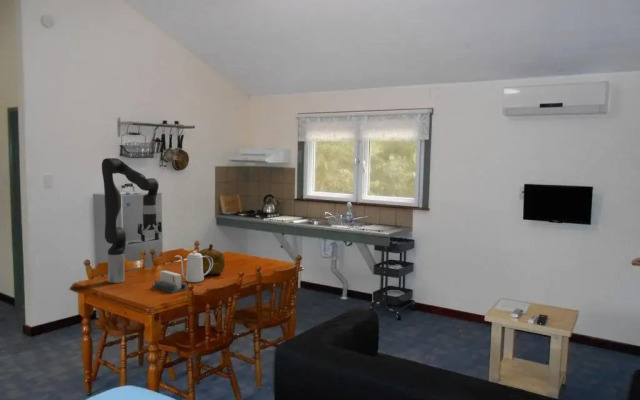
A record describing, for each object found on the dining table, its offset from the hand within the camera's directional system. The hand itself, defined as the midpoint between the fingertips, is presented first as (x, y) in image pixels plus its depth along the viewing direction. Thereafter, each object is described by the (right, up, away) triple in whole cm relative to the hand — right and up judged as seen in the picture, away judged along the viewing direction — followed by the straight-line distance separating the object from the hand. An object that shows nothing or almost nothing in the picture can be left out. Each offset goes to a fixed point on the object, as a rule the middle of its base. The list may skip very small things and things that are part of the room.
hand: (149, 240), depth 303 cm
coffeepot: (+21, -27, +21) cm, 40 cm away
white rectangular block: (+11, -27, +3) cm, 30 cm away
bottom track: (+12, -28, +3) cm, 31 cm away
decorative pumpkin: (+26, -25, +41) cm, 55 cm away
